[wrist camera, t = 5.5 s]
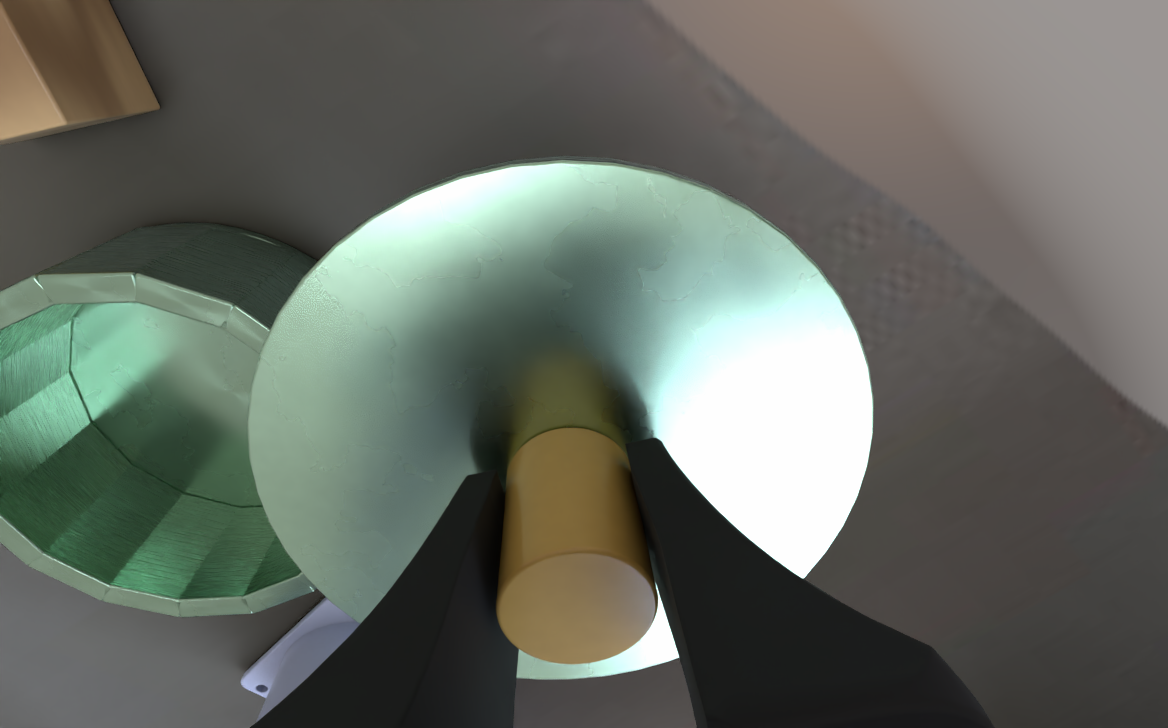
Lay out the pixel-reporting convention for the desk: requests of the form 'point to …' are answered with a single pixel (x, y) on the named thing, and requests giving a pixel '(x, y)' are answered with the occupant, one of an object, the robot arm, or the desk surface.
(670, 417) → the tin lid
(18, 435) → the tin
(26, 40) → the block
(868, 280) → the desk surface
